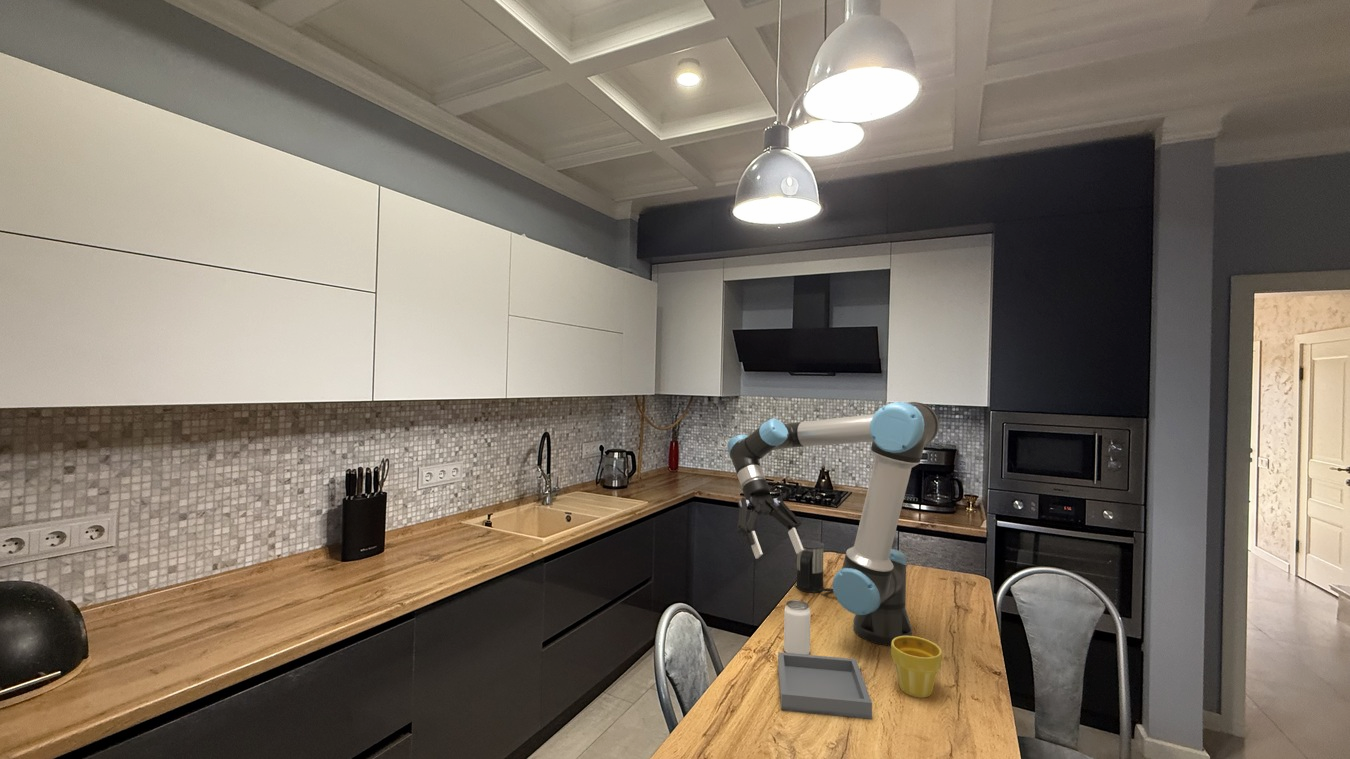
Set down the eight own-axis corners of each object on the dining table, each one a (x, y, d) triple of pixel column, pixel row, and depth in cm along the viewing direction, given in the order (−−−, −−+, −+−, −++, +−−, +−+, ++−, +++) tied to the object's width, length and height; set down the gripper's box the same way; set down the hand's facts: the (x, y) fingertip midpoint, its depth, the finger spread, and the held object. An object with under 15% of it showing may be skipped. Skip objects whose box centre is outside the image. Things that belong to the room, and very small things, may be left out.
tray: (855, 672, 128) (855, 658, 128) (871, 719, 110) (872, 702, 110) (778, 665, 131) (778, 652, 131) (781, 710, 113) (781, 694, 113)
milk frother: (794, 582, 187) (795, 538, 188) (842, 585, 185) (842, 541, 185) (798, 598, 173) (798, 551, 173) (849, 601, 171) (850, 554, 171)
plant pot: (938, 709, 114) (939, 662, 114) (886, 693, 120) (887, 648, 120) (943, 686, 123) (944, 642, 123) (895, 672, 129) (895, 631, 129)
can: (810, 659, 134) (811, 610, 134) (783, 656, 136) (784, 608, 136) (809, 647, 141) (810, 600, 141) (783, 644, 142) (784, 598, 142)
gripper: (782, 489, 167) (809, 555, 154) (711, 492, 156) (734, 564, 143) (794, 476, 162) (823, 544, 149) (722, 478, 151) (747, 552, 138)
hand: (780, 554), depth 146 cm, fingers open, 13 cm apart
